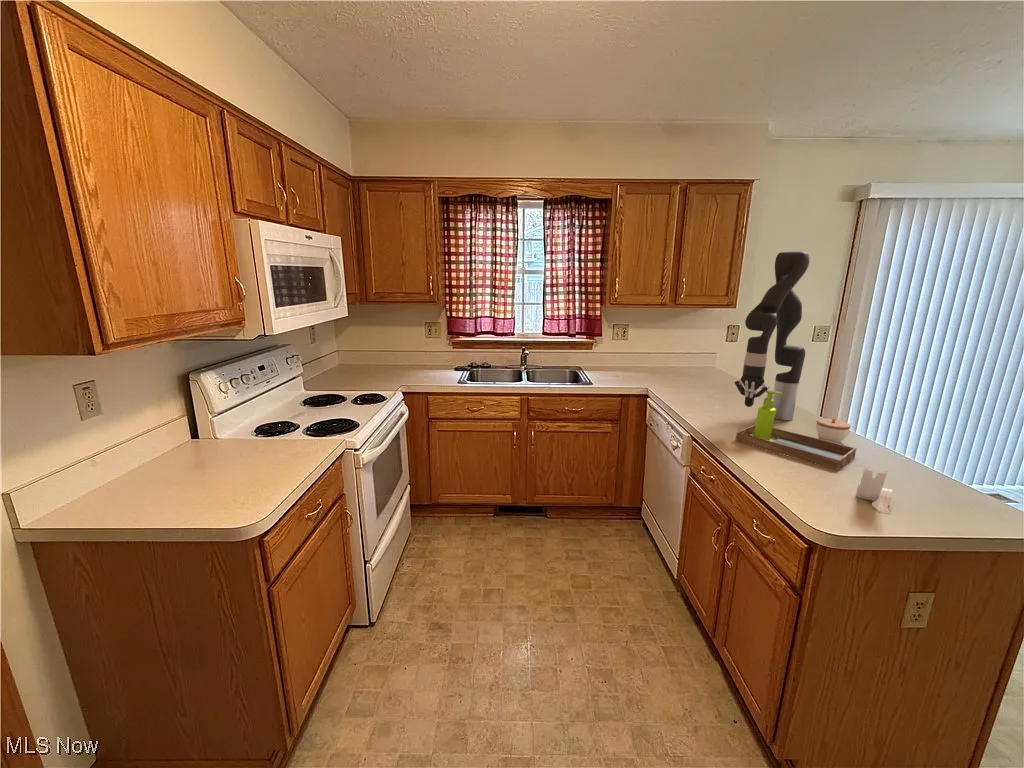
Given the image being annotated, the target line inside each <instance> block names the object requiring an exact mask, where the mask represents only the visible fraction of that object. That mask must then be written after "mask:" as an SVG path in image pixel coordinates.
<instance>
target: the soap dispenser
mask: <svg viewBox="0 0 1024 768" xmlns="http://www.w3.org/2000/svg"><path fill="white" fill-rule="evenodd" d="M766 393H767V395H766V397H764V399H763V403H762V405H759V406H758V409H757V415H756V418H755V419H756V421H755V423H754V424H755V429H754V433H753V434H752V436H754V437H757V438H761V439H765V440H768V441H771V437H772V436H771V432H772V427H773V428H774V422H775V419H774V417H775V413H776V409H775V408H773V404H774V400H773V399H772V397H773V394H780V395H782V393H781V392H778V391H774V390H770V389H768V390H766Z"/></svg>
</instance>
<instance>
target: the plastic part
mask: <svg viewBox="0 0 1024 768" xmlns="http://www.w3.org/2000/svg"><path fill="white" fill-rule="evenodd" d="M873 473H874V471H873V470H872V469H869V467H864V469H863V472H862V476H861V479H860V482H858V485H857V488H856V496H855V497H856V498H860V499H863V500H867V501H872V503H871V506H872V507H873V508H874V509H875V510H876V512H878V513H882V514H887V515H891V512H890V511H889V509H888V508H889V506H890V505H891V504H890V503H891V502H892V499H893V495H894V493H893V489H890V488H886V487H885V488H884V484H885V481H886V477H887V475H888V471H886V470H883V471H882V472H881V471H879V472H877V474H876V475H875V477H873V475H874V474H873Z"/></svg>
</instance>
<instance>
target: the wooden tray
mask: <svg viewBox="0 0 1024 768" xmlns="http://www.w3.org/2000/svg"><path fill="white" fill-rule="evenodd" d="M755 424H756V423H754V424H752V425H751V426H748V427H746V428H743V429H742V430H739V431H737V432H736V435H735V441H736V442H738V441H739V442H740V443H741V442H743V443H742V444H745V443H746V444H745V445H748V444H750V446H752V445H754V446H753V447H755V446H757V447H756V448H759V447H760V449H762V448H763V450H766V449H767V450H766V451H769V450H771V451H770V452H773V451H774V453H776V452H777V454H780V453H781V454H780V455H783V454H785V455H784V456H787V455H788V456H787V457H790V456H791V457H790V458H794V457H795V459H797V458H798V460H801V461H804V460H805V462H808V463H811V462H812V464H815V463H816V465H818V464H819V466H822V467H825V466H826V468H828V467H829V469H833V470H835V469H836V471H840V470H841V469H842V468H843V467H845V466H846V465H847V464H848V463H849V462H851V461H852V460H853V459H854V458H855V456H856V453H857V448H856V447H854V446H850V445H849V446H848V445H845V444H841V443H839V444H838V443H834V442H830V441H826V440H822V439H820V438H817V437H812V436H808V435H804V434H801V433H796V432H792V431H789V430H785V429H781V428H777V427H774V426H773V427H772V432H771V435H772V436H771V437H773V436H775V437H774V438H777V437H779V438H777V439H775V440H773V441H772V440H770V441H768V440H765V439H761V438H757V437H754V436H753V434H754V429H755ZM752 433H753V434H752ZM750 434H751V435H750ZM851 459H852V460H851ZM850 460H851V461H850ZM845 464H846V465H845Z"/></svg>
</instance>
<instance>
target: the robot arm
mask: <svg viewBox="0 0 1024 768" xmlns="http://www.w3.org/2000/svg"><path fill="white" fill-rule="evenodd" d="M809 264H810V255H809V253H808V252H806V251H804V250H803V251H801V250H800V251H799V250H798V251H781V252H779V253H777V255H776V257H775V262H774V274H775V275H774V276H775V277H774V278H775V284H773V285H772V286H771V287H770V288H769V289H768V290H767V291H766V293H764V295H763V297H762V300H760V302H759V303H758V304H757V305H756V306H755V307H754V308H753V309H752V310H751V311H750V312H749V313H748V314H747V315H746V318H745V321H744V322H745V323H744V324H745V327H746V328H747V329H748V330H749V331H757V332H762V333H761V335H759V336H758V335H757V336H752V337H749V338H748V340H747V346H746V352H745V357H744V361H743V368H742V376H741V377H740V379H739V380H737V381H734V385H735V387H736V388H737V389H738V391H739V393H740V394H741V395H742V396H744V398H745V399H744V405H745V407H747V408H751V407H752V406H754V405H755V404H754V403H755V399H756V398H758V397H759V398H760V397H761V396H762V395H763V394H764V393H765V392H766V390H770V386H769V385H767V384H766V383H765V378H764V377H765V373H766V367H767V360H768V359H767V358H768V357H767V356H768V354H767V353H768V347H769V343H770V340H771V337H772V336H773V334H774V331H775V329H776V337H775V350H774V361H775V364H777V365H778V366H782V367H783V366H784V367H790V370H789V371H786V372H779V373H777V374H776V375H775V380H774V384H773V385H774V386H773V391H778V392H781V393H782V395H780V394H773V396H772V399H773V400H774V404H773V408H775V409H776V413H775V417H774V418H775V419H774V420H778V419H780V420H779V421H785V420H789V421H792V419H794V413H795V408H796V403H797V398H798V391H799V385H800V379H801V375H802V371H803V366H804V362H805V358H806V349H805V348H804V347H803V346H795V345H788V344H787V342H788V337H789V336H790V335H791V333H792V332H793V331H795V329H796V328H797V326H798V325H799V323H800V322H801V321H802V317H803V316H802V315H803V304H802V301H801V299H800V297H799V296H798V295H797V293H796V292H795V290H793V288H794V287H795V286H796V285H797V283H798V282H799V281H800V279H802V277H803V276H804V274H805V273H806V272H807V270H808V268H809ZM759 388H760V390H759V391H758V389H759ZM766 393H767V392H766Z"/></svg>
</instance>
